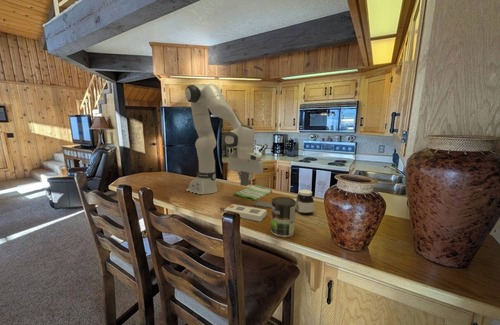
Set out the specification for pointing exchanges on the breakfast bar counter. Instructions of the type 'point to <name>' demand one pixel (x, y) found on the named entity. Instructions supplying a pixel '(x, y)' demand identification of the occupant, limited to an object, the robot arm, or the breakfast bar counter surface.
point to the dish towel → (253, 192)
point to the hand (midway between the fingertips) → (244, 179)
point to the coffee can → (283, 216)
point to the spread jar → (304, 202)
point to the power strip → (247, 212)
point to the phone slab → (263, 204)
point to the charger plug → (244, 178)
